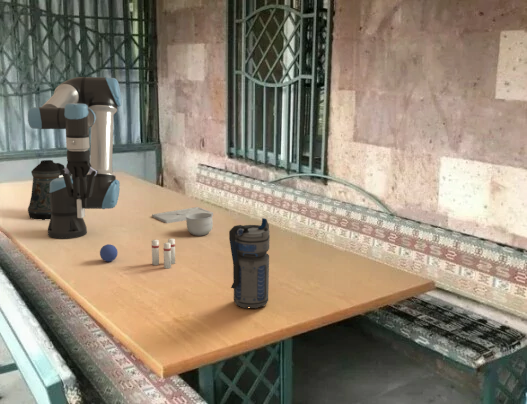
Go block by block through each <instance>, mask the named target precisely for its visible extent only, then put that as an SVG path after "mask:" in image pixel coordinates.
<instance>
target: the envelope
mask: <svg viewBox="0 0 527 404" xmlns="http://www.w3.org/2000/svg"><path fill="white" fill-rule="evenodd" d="M199 212H203V213H210V214H212V217H214V212H213V211H209V210H207V209H205V208H202V207H199V206H196V207H189V208H183V209H177V210H171V211H165V212H157V213H152V215H151V216H152V218H154V219H155V220H157V221H158V220H159V221H160V222H162V223H165V224H171V223H177V222H184V221H186V216H187V215H189V214H192V213H199Z"/></svg>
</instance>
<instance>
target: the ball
mask: <svg viewBox="0 0 527 404" xmlns="http://www.w3.org/2000/svg"><path fill="white" fill-rule="evenodd" d="M99 256H100V258H101V260H103V261H104V262H113V261H115V260H116V259H117V257H118V249H117V247H116V246H115V245H114V244H104V245H103V246H102V247H101V248H100V250H99Z"/></svg>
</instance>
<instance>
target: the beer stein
mask: <svg viewBox="0 0 527 404" xmlns="http://www.w3.org/2000/svg"><path fill="white" fill-rule="evenodd" d="M64 168H66V167H65V164H64V165H63V164H62V163H60V162H54V161H53V160H51V159H46V160H43V159H42V160H40V162H39V163H38V164H37V165H36V166H35V167H34V168H33V169H32V170H31V176H32V185H31V195H30V201H29V203H28V204H29V205H28V208H27V213H28V216H29V219H31V218H32V220H34V219H42V220H41V221H46V220H45V219H51V203H50V193H49V191H50V182H51V181H52V180H54V179H56V178H60V176H61V177H62V176H63V175H62V174H61V172H60V170H62V169H64ZM69 175H70V176H72V174H71V173H70V172H69Z"/></svg>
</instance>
